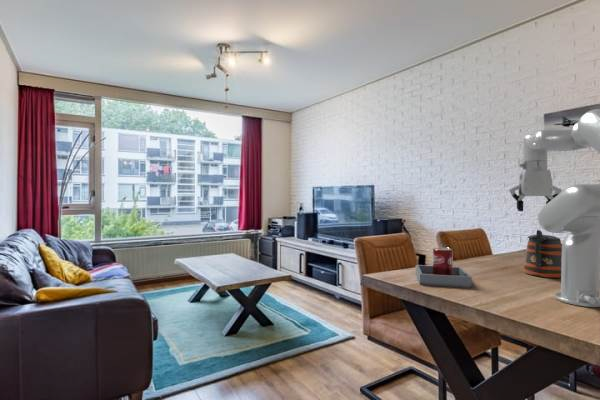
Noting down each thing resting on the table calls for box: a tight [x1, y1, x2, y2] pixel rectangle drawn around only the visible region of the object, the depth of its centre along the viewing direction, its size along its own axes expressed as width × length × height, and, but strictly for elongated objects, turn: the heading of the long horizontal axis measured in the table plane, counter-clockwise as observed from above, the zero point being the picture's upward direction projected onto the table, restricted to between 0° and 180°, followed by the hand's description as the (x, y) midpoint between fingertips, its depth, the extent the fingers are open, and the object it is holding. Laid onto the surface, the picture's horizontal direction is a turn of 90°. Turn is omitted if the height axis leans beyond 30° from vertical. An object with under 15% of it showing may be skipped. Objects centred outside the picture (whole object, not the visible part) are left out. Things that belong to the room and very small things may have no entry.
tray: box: [415, 264, 473, 289], centre depth 134 cm, size 18×18×4 cm
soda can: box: [432, 246, 454, 276], centre depth 134 cm, size 7×7×12 cm
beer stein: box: [523, 229, 562, 279], centre depth 144 cm, size 19×15×20 cm
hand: (534, 211), depth 128 cm, fingers open, 9 cm apart
